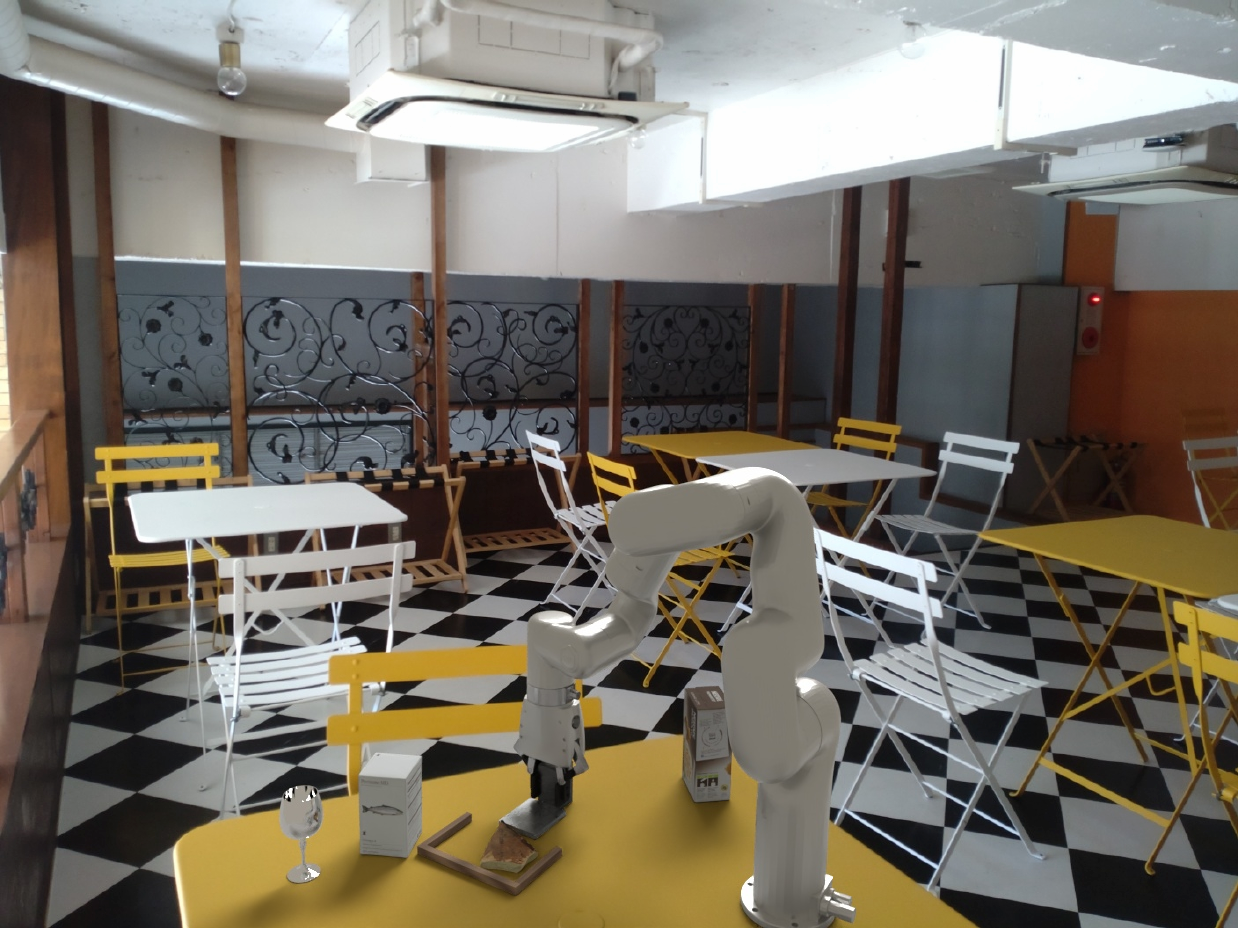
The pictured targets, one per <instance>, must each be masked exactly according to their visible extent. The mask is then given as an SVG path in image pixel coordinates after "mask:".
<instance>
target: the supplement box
mask: <svg viewBox="0 0 1238 928" xmlns="http://www.w3.org/2000/svg"><path fill="white" fill-rule="evenodd" d="M422 763H423V755H415V754H400V753H389V752H388V753H386V752H375V753H374V754H373V755H372V757H371V758H370V759H369V760H368V762H367V763H366V764H365V765H364V767H363V768H362V770H360V772H359V774H358V776H357V777H358V779H357V780H358V813H359V814H358V817H359V821H358V822H359V854H360V855H372V856H373V855H374V856H386V857H387V856H388V857H398V858H403V859H407V858H408V857H409V856H410V854H411V851H412V850H413V848H414V847H415V845H416V843H417V842H418V840H419V838H420V836H421V834H422V832H423V782H422V781H423V779H422V778H423V776H422V775H423V774H422V772H423V764H422Z"/></svg>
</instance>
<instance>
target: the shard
mask: <svg viewBox="0 0 1238 928" xmlns="http://www.w3.org/2000/svg"><path fill="white" fill-rule="evenodd" d="M538 855H539V851H538V850H537V849H536V847H534V846H533V845H532V844H531V843H529V842H528V840H527V839H525V838H524V837H523V836H522V834H520V833H517V832H516V831H515V830H514V829H512V828H511V827H509V826H508V825H507V824H506V823H505V822H504V821H503V820H501V822H500V824H499V823H498V825H497V828H496V830H495V832H494V833H493V834H492V836H491V838H490V839H489V841H488V842H487V845H486V847H485V848H484V851H483V853H482V856H481V858H480V867H481V868H483V869H486V870H487V869H489V870H502V871H506V872H512V873H514V874H515V873H516V874H518V873H519V872H520V871H522V869H524V867H526V865H528V864H529V863H531V862H532V861H534V860H535V859H537V857H538Z"/></svg>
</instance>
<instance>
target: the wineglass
mask: <svg viewBox="0 0 1238 928" xmlns="http://www.w3.org/2000/svg"><path fill="white" fill-rule="evenodd" d="M281 797H282V798H281V802H280V808H279V814H278V818H279V819H278V820H279V821H278V822H279V826H280V830H281V832H282V834H283V835H284V836H285V837H287V838H288V839H291V840H296V841H298V846H299V849H300V853H301V863H300V864H298V865H295V866H293V867H292V868H290V869H289V870H288V871H287V874H286V879H287V880H288V881H289V882H291V883H297V884H303V883H307V882H311V881H313V880H314V879H316V878H317V877H318V876H319V875H320V874H321V867H320V866H319V865H318V864H317V863H311V862H307V863H306V854H305V853H306V847H307V840H306V839H309V838H311V837H313V836H314V835H315V834H317V833H318V832H319V830H320V829H321V827H322V826H323V825H322V824H323V821H324V808H323V807H324V806H323V803H322V799H321V795H320V793H319V790H318V788H317V787H315V786H312V785H305V784H304V785H297V786H294V787H291V788H289V789H287V790H286V791H284V793H283V795H282V796H281Z"/></svg>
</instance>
